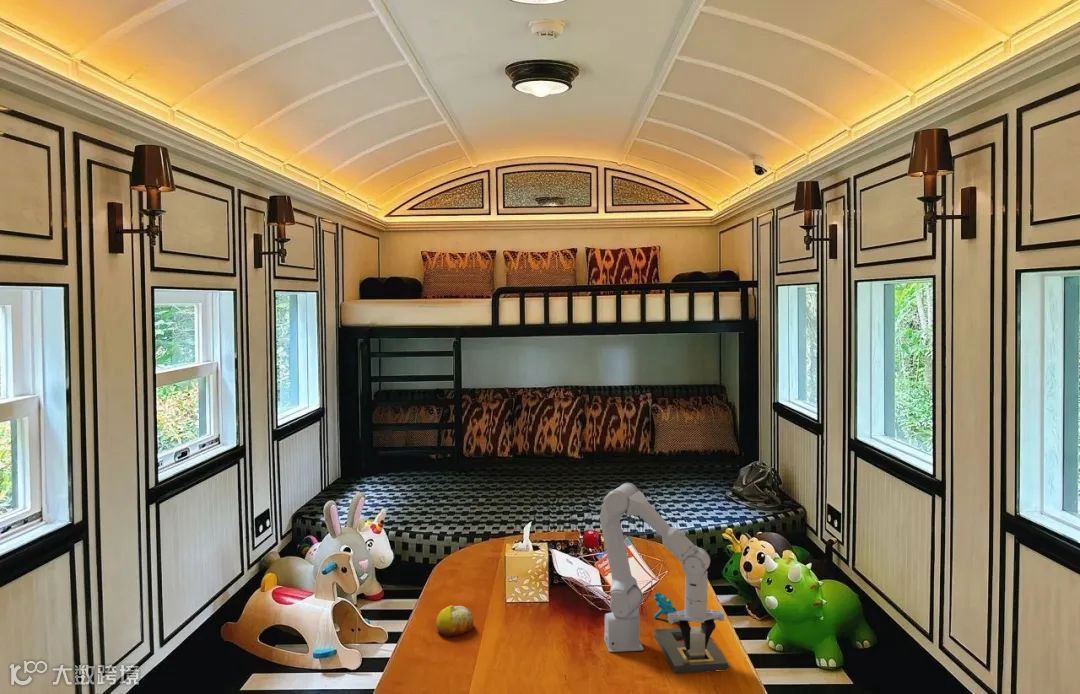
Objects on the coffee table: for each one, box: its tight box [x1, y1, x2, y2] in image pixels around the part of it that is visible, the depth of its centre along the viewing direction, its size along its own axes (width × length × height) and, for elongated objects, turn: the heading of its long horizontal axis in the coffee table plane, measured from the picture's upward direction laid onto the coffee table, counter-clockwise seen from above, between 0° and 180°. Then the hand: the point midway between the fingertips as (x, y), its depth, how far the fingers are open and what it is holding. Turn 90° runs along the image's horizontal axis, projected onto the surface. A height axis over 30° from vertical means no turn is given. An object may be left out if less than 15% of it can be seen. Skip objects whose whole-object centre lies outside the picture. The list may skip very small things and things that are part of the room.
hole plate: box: [653, 627, 729, 675], centre depth 188 cm, size 14×20×2 cm
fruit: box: [435, 604, 474, 637], centre depth 202 cm, size 11×10×8 cm
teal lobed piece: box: [653, 591, 678, 624], centre depth 209 cm, size 11×6×10 cm
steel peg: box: [685, 626, 705, 660], centre depth 183 cm, size 4×4×8 cm
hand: (695, 647), depth 183 cm, fingers closed on steel peg, 4 cm apart
